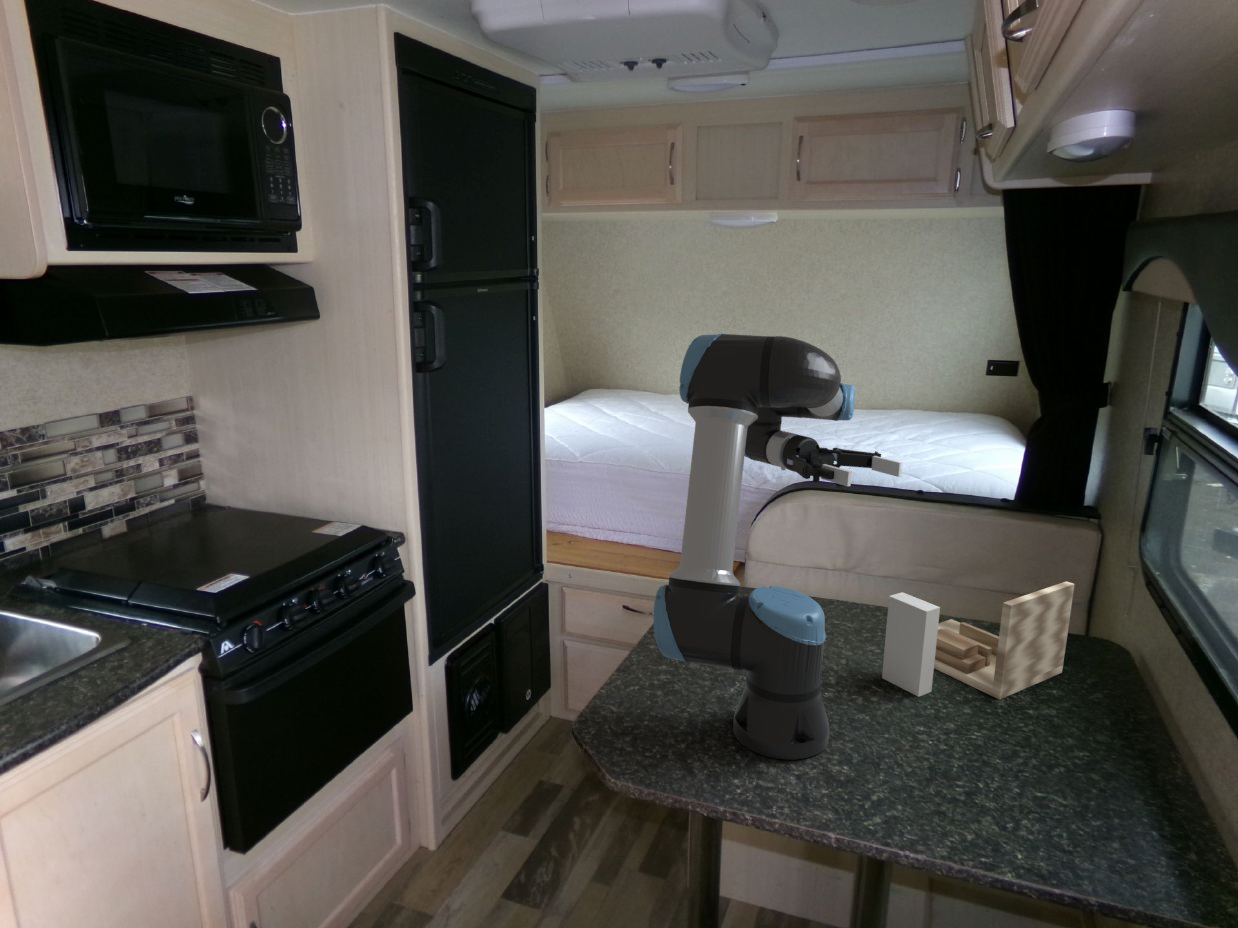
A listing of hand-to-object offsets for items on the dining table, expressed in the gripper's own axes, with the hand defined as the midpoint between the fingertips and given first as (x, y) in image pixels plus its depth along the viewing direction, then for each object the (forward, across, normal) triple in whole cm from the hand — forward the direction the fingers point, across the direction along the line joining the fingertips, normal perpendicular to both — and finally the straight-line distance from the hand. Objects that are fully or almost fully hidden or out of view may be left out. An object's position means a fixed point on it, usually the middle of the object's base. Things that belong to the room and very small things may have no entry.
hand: (875, 474), depth 151 cm
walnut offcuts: (+12, -10, -34) cm, 38 cm away
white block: (+12, +2, -36) cm, 38 cm away
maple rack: (+12, -17, -36) cm, 42 cm away
